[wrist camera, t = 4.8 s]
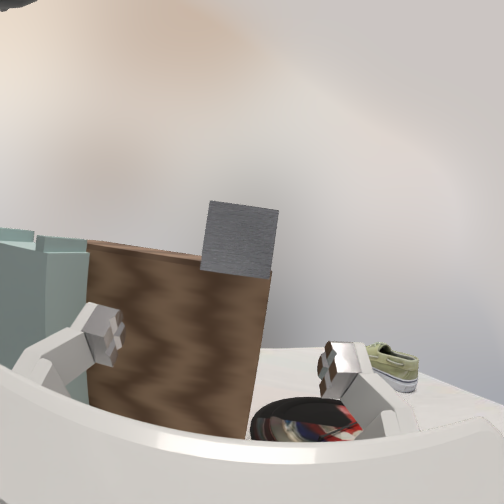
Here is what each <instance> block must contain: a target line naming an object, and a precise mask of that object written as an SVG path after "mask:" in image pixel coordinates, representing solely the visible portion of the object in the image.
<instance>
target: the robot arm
mask: <svg viewBox="0 0 504 504" xmlns="http://www.w3.org/2000/svg"><path fill="white" fill-rule="evenodd" d="M35 1H37V0H0V11H1V12H3V11H7V10H8V9H9V8H20V7H23V6H26V5H28V4H31V3H33V2H35ZM122 319H123V313H122V311H121V310H118V309H114V308H110V307H107V306H103V305H99V304H95V303H91V302H88V303H86V304H85V306H84V307H83V309H82V310H81V312H80V313H79V315H78V316H77V318H76V319H75V321H74V322H73V324H72V325H71V327H70V328H69V327H66V328H64V329H62V330H60V331H59V332H57V333H55V334H53V335H51V336H49V337H47V338H45V339H43V340H41V341H39V342H37V343H35V344H34V345H32V346H30V347H28V348H26V349H25V350H24V351H23V353H22V354H21V356H20V358H19V359H18V361H17V362H16V364H15V365H14V367H13V369H12V370H10V369H8V368H6V367H5V366H3V365H1V364H0V504H504V437H503V435H502V433H501V432H500V431H499V430H498V429H497V428H496V427H495V426H494V425H493V424H491V423H490V422H489V421H488V420H487V419H485V418H484V417H481V416H478V417H474V418H470V419H467V420H464V421H460V422H457V423H453V424H449V425H445V426H441V427H437V428H432V429H428V430H423V431H420V429H419V426H418V422H417V419H416V416H415V413H414V409H413V407H412V406H411V405H410V404H409V403H408V402H407V401H406V400H405V399H404V398H403V397H402V396H401V395H399V394H398V393H397V392H396V391H395V390H394V389H393V388H392V387H391V386H390V385H389V384H388V383H387V382H386V381H385V380H384V379H382V378H381V377H380V376H379V375H378V374H377V373H374V372H373V369H372V366H371V363H370V359H369V356H368V353H367V350H366V347H365V344H364V343H358V342H337V341H328V342H327V344H326V346H325V352H324V353H323V354H321V356H320V358H319V360H318V366H317V372H318V377H319V378H320V379H321V380H322V381H321V383H320V385H319V387H320V394H321V398H327V399H340V400H341V402H342V403H343V404H344V406H345V407H346V408H347V409H348V411H349V412H350V413H351V415H352V416H353V417H354V419H355V420H356V421H357V423H358V424H359V425H360V427H361V428H362V429H363V431H362V432H361V433H360V434H359V435H358V436H357V437H356V438H355V439H354V440H351V441H336V442H272V441H256V440H244V439H234V438H226V437H218V436H211V435H204V434H198V433H192V432H187V431H181V430H176V429H172V428H167V427H162V426H158V425H154V424H150V423H146V422H142V421H138V420H134V419H131V418H127V417H124V416H121V415H117V414H114V413H111V412H108V411H105V410H102V409H99V408H96V407H93V406H90V405H87V404H85V403H82V402H79V401H77V400H74V399H72V398H71V395H70V394H69V392H68V390H67V389H66V387H65V386H66V385H67V384H69V383H70V382H71V381H73V380H74V379H75V378H77V377H78V376H79V375H80V374H82V373H83V372H84V371H86V370H87V369H88V368H90V367H91V366H92V365H94V364H95V363H99V364H102V365H106V366H110V367H113V366H114V364H115V362H116V359H117V357H118V352H117V350H118V349H120V348H121V347H122V346H123V344H124V341H125V337H126V328H125V325H124V324H123V322H122Z"/></svg>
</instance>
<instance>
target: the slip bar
mask: <svg viewBox="0 0 504 504" xmlns="http://www.w3.org/2000/svg"><path fill="white" fill-rule="evenodd" d="M278 214H279V211H278V210H273V209H266V208H259V207H252V206H246V205H239V204H232V203H224V202H216V201H210V204H209V210H208V216H207V223H206V229H205V237H204V243H203V250H202V257H201V265H200V270H204V271H211V272H218V273H225V274H232V275H239V276H246V277H254V278H261V279H269V278H270V271H271V264H272V257H273V250H274V243H275V236H276V229H277V221H278Z"/></svg>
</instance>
